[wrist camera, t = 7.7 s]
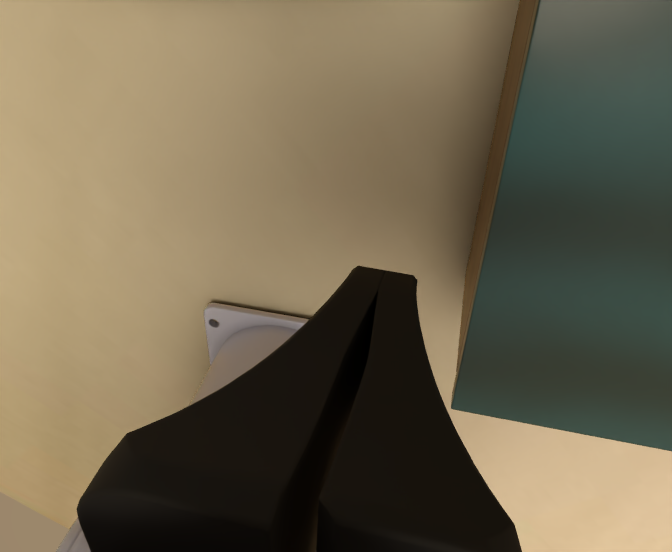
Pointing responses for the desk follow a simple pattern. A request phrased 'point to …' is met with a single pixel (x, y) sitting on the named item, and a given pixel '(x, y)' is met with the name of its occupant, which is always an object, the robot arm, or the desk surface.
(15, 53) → the desk surface
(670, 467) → the desk surface
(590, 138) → the lid
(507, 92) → the dark brown box
